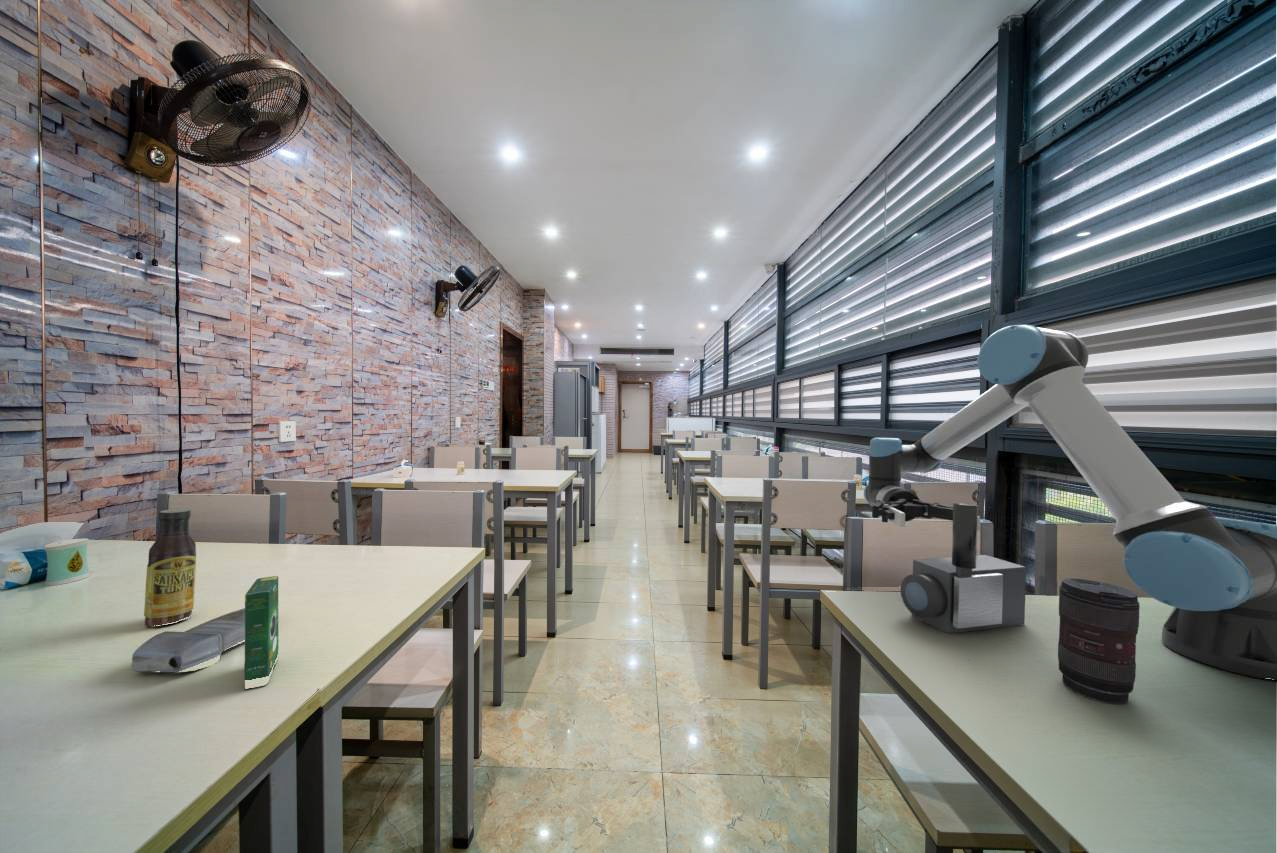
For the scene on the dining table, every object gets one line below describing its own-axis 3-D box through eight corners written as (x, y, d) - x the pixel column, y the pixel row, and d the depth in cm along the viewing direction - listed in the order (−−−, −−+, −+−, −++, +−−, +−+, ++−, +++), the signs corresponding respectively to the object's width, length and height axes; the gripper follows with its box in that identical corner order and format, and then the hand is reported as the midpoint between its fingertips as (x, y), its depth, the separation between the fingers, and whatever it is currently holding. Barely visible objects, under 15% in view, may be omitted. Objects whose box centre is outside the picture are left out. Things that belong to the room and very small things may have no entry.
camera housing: (983, 607, 95) (985, 554, 95) (1025, 624, 87) (1027, 567, 87) (898, 616, 90) (899, 560, 90) (934, 635, 82) (936, 574, 82)
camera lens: (1154, 711, 61) (1157, 599, 61) (1082, 703, 63) (1086, 594, 62) (1105, 678, 69) (1108, 579, 69) (1043, 671, 71) (1046, 574, 70)
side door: (989, 618, 86) (992, 501, 86) (1009, 626, 83) (1012, 505, 82) (945, 623, 84) (948, 502, 84) (963, 632, 80) (966, 506, 80)
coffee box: (255, 663, 69) (255, 576, 69) (279, 659, 70) (280, 573, 70) (242, 691, 62) (242, 594, 62) (269, 685, 63) (269, 591, 63)
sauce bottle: (149, 632, 78) (150, 515, 78) (139, 623, 81) (139, 511, 81) (201, 618, 84) (201, 509, 83) (189, 610, 87) (190, 505, 87)
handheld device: (299, 620, 84) (299, 595, 84) (187, 683, 64) (187, 650, 64) (248, 618, 85) (248, 593, 84) (121, 680, 65) (121, 647, 64)
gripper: (954, 521, 110) (1009, 544, 89) (843, 515, 114) (872, 536, 93) (954, 490, 110) (1010, 505, 89) (844, 485, 114) (873, 500, 93)
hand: (940, 521), depth 91 cm, fingers open, 13 cm apart
